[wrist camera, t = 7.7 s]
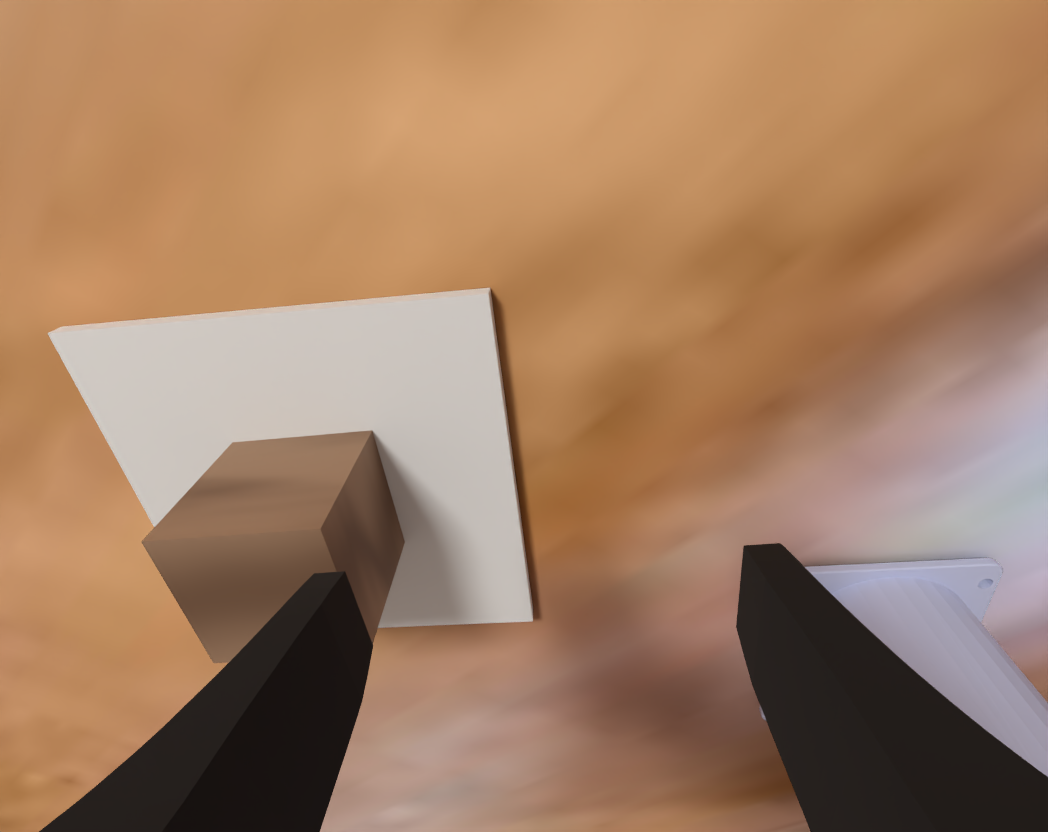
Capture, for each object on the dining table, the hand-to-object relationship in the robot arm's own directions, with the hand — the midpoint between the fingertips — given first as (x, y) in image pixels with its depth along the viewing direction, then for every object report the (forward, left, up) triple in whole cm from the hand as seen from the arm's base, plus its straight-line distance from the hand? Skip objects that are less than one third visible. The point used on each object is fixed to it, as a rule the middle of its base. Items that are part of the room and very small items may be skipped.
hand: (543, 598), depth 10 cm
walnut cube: (-4, +8, -9) cm, 13 cm away
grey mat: (-4, +8, -9) cm, 13 cm away
